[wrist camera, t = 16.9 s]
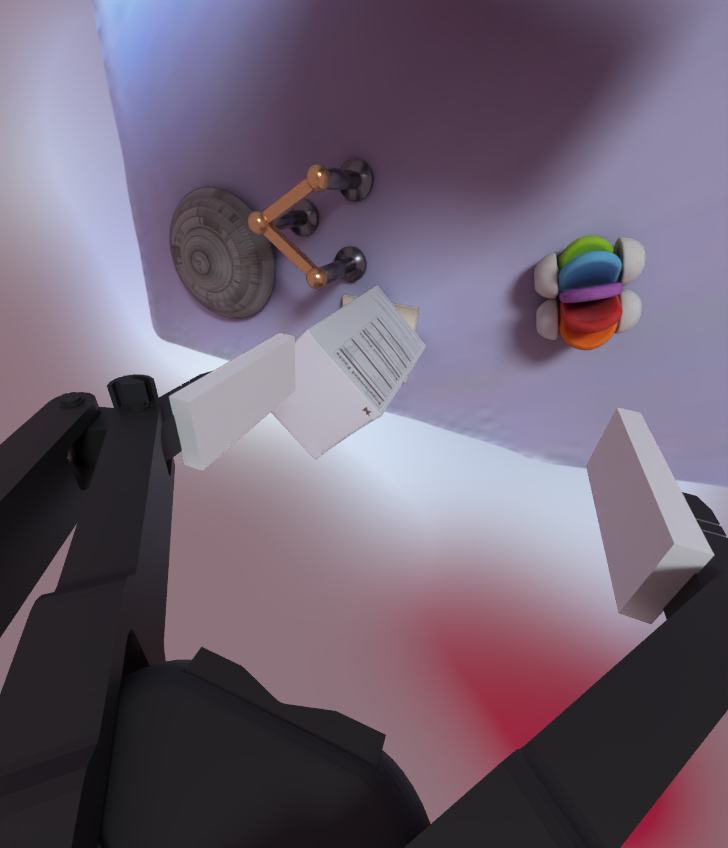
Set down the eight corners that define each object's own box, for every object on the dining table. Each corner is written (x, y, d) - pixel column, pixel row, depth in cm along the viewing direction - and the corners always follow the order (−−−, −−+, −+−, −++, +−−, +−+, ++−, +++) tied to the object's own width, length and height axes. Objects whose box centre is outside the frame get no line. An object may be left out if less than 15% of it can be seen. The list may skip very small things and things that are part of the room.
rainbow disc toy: (536, 342, 41) (538, 367, 35) (533, 244, 36) (534, 254, 30) (631, 331, 37) (651, 357, 31) (640, 222, 33) (664, 228, 27)
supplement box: (377, 281, 42) (308, 324, 29) (429, 346, 44) (385, 415, 30) (324, 333, 48) (244, 389, 34) (371, 388, 49) (313, 463, 36)
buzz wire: (288, 152, 40) (228, 142, 32) (374, 160, 37) (334, 152, 29) (290, 270, 46) (241, 286, 38) (364, 282, 44) (329, 303, 36)
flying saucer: (172, 277, 53) (140, 284, 48) (190, 160, 44) (152, 156, 39) (261, 336, 53) (237, 350, 48) (297, 231, 44) (271, 236, 39)
